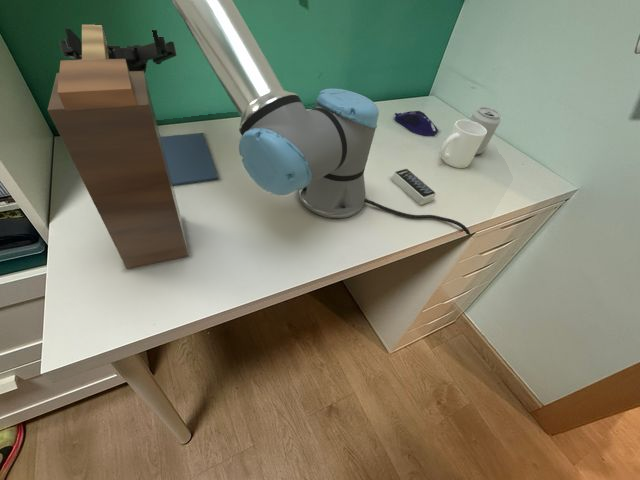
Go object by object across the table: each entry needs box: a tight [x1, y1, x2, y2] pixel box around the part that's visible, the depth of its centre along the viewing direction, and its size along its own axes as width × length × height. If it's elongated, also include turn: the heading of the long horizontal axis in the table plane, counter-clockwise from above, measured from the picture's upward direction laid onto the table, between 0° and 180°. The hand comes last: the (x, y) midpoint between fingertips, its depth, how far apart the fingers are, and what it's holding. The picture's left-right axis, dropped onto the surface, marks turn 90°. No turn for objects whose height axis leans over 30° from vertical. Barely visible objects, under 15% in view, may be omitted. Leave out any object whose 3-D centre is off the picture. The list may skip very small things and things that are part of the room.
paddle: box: [57, 24, 136, 111], centre depth 43 cm, size 23×7×2 cm, turn 25°
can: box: [470, 106, 502, 156], centre depth 95 cm, size 8×8×12 cm
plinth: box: [47, 71, 190, 270], centre depth 50 cm, size 10×10×28 cm
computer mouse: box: [394, 110, 439, 137], centre depth 104 cm, size 9×15×4 cm, turn 58°
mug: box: [439, 119, 487, 169], centre depth 89 cm, size 12×8×10 cm
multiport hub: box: [391, 168, 437, 206], centre depth 80 cm, size 4×11×2 cm, turn 31°
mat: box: [160, 132, 219, 187], centre depth 78 cm, size 20×12×1 cm, turn 23°
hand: (114, 38), depth 59 cm, fingers open, 13 cm apart
